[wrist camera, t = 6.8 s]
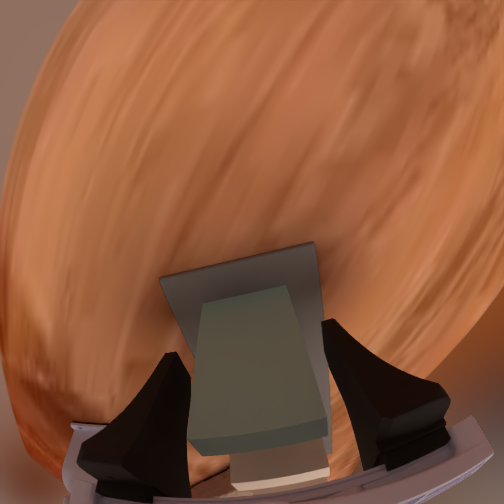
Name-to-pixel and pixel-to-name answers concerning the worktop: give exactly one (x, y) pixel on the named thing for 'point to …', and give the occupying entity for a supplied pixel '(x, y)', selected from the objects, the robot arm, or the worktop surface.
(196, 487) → the brick
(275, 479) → the ivory domino
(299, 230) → the worktop surface
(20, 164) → the worktop surface
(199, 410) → the teal domino
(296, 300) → the mat
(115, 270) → the worktop surface
